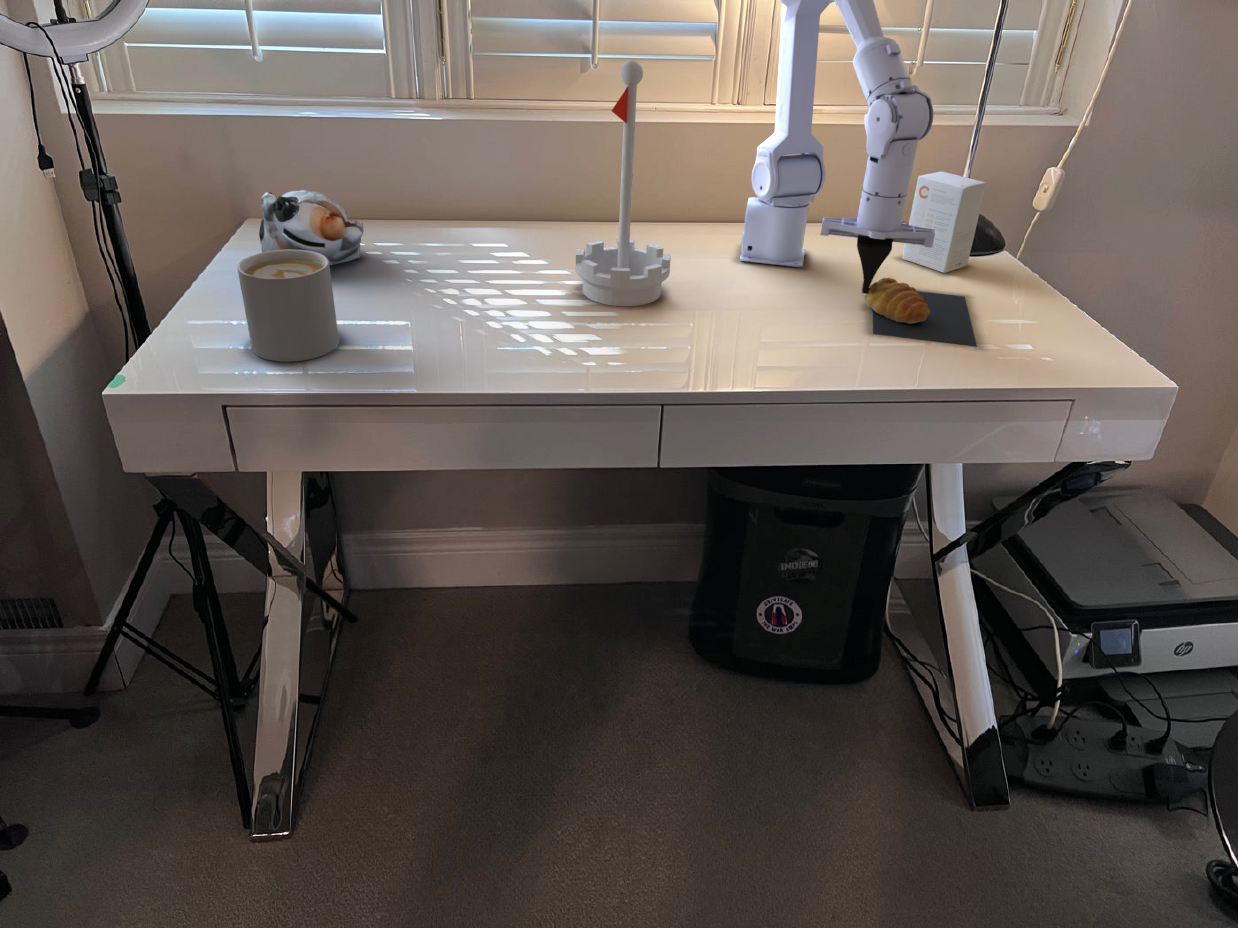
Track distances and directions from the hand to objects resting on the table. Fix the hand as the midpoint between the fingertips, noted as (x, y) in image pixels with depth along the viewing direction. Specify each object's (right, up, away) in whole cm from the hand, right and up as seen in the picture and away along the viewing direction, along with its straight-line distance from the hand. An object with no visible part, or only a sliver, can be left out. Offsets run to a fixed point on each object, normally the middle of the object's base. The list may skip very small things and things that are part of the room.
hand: (865, 291), depth 128 cm
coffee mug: (-73, -9, -15) cm, 75 cm away
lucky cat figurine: (-77, +5, +7) cm, 78 cm away
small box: (+16, +8, +19) cm, 26 cm away
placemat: (+8, -3, 0) cm, 8 cm away
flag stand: (-33, 0, +3) cm, 34 cm away
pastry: (+4, -3, 0) cm, 5 cm away
